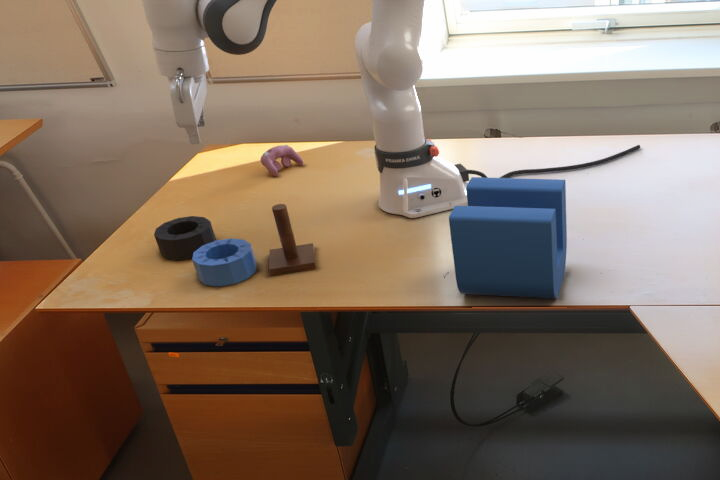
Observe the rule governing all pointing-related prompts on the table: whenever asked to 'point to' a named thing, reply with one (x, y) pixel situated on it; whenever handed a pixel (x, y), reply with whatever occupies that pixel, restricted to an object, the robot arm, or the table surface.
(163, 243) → the ring
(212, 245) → the blue tape
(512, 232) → the block
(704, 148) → the table surface
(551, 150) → the table surface
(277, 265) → the wooden stand
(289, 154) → the video game controller
